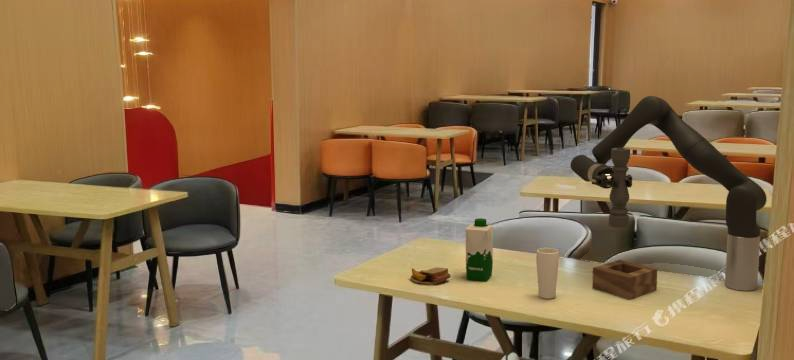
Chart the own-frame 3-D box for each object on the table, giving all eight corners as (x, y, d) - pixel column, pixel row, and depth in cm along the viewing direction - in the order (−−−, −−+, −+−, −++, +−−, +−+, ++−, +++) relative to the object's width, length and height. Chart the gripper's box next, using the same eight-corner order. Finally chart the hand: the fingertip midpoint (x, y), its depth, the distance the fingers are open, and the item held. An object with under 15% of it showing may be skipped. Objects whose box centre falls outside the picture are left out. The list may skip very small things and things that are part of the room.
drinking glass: (545, 301, 213) (546, 254, 211) (531, 295, 219) (532, 249, 217) (562, 297, 216) (563, 251, 214) (548, 291, 222) (549, 246, 220)
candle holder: (629, 227, 222) (632, 150, 217) (609, 227, 223) (611, 150, 218) (627, 223, 228) (629, 147, 223) (607, 222, 229) (609, 147, 224)
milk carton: (494, 275, 241) (494, 219, 238) (488, 283, 233) (488, 224, 229) (470, 272, 244) (470, 217, 241) (463, 280, 236) (462, 223, 233)
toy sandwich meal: (434, 272, 247) (434, 259, 246) (456, 282, 235) (455, 269, 234) (404, 278, 240) (403, 265, 240) (424, 289, 229) (424, 275, 228)
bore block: (619, 279, 232) (620, 259, 231) (656, 290, 221) (657, 269, 220) (592, 288, 224) (592, 267, 223) (629, 299, 213) (630, 277, 212)
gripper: (582, 165, 235) (602, 173, 219) (622, 163, 237) (645, 171, 220) (582, 187, 237) (601, 197, 220) (622, 185, 238) (644, 195, 221)
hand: (623, 184), depth 220 cm, fingers closed on candle holder, 4 cm apart
